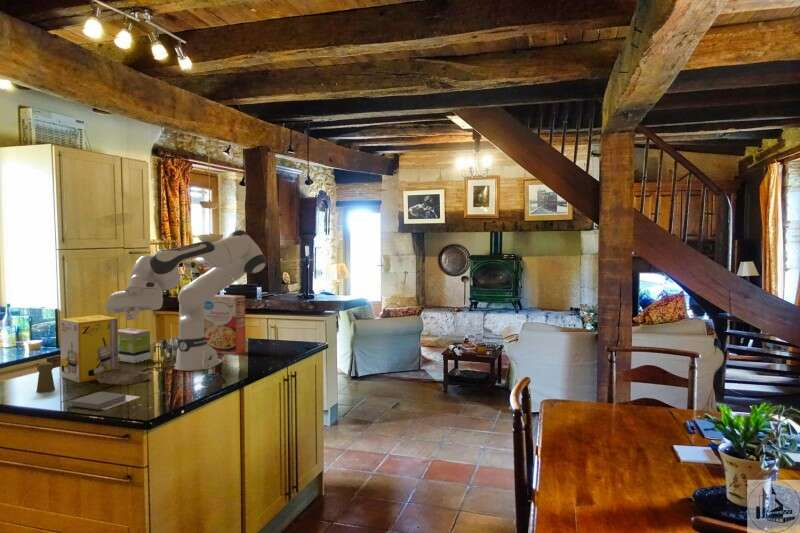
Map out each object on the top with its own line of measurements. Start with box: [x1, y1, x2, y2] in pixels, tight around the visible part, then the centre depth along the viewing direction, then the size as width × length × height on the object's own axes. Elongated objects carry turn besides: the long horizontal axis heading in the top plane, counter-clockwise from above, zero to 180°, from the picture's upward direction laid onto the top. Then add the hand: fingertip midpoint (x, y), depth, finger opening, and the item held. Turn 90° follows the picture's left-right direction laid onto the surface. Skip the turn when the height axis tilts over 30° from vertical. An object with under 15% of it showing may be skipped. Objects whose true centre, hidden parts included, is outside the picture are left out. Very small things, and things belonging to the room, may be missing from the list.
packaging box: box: [59, 314, 120, 384], centre depth 227 cm, size 16×16×25 cm
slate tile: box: [70, 391, 127, 410], centre depth 188 cm, size 2×12×12 cm
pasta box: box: [204, 293, 246, 356], centre depth 279 cm, size 23×8×30 cm, turn 71°
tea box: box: [118, 327, 151, 364], centre depth 258 cm, size 15×10×15 cm
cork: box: [36, 361, 56, 394], centre depth 205 cm, size 6×6×11 cm
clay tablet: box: [96, 368, 150, 386], centre depth 220 cm, size 14×5×20 cm
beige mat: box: [100, 394, 140, 411], centre depth 191 cm, size 16×16×1 cm
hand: (129, 318), depth 198 cm, fingers closed
